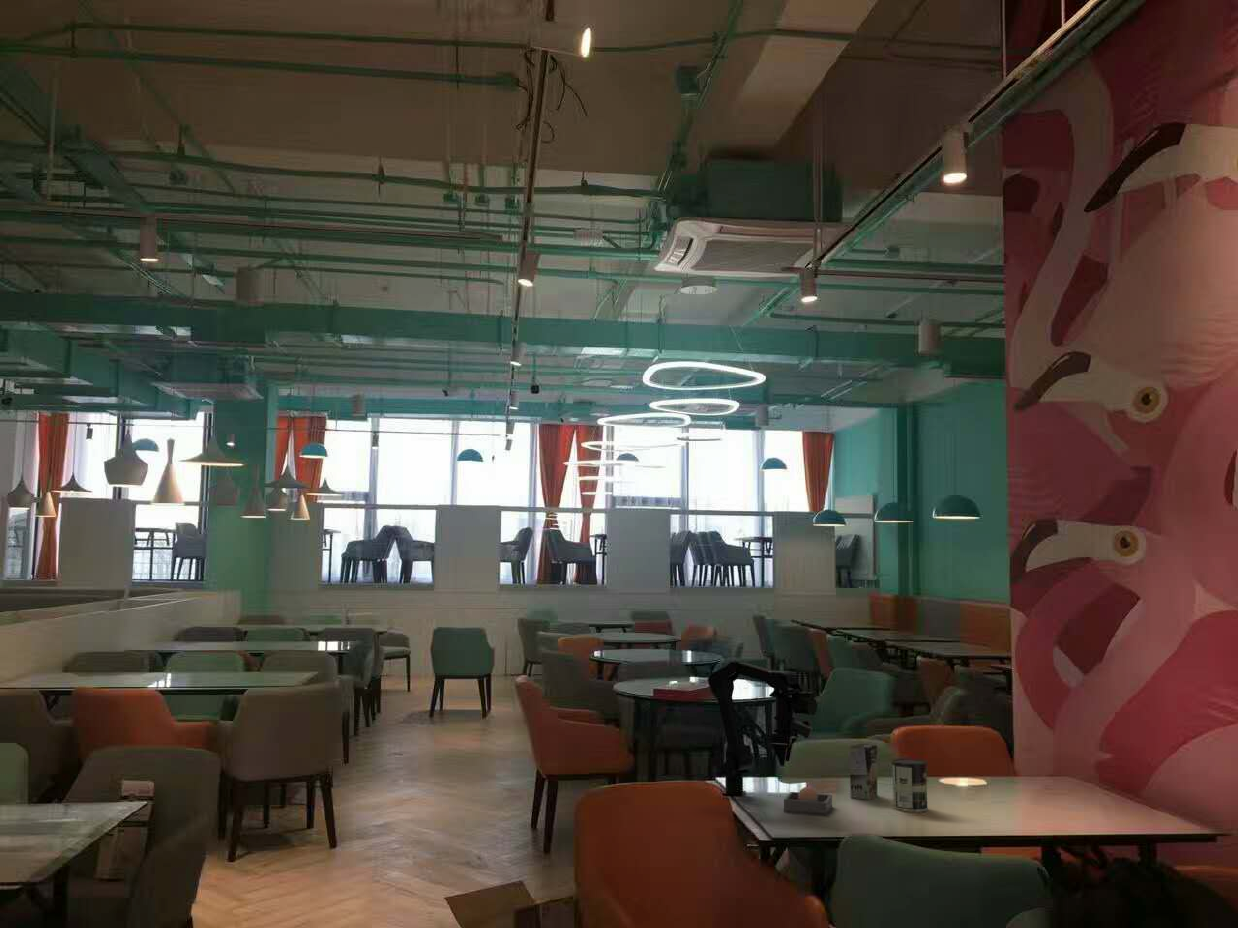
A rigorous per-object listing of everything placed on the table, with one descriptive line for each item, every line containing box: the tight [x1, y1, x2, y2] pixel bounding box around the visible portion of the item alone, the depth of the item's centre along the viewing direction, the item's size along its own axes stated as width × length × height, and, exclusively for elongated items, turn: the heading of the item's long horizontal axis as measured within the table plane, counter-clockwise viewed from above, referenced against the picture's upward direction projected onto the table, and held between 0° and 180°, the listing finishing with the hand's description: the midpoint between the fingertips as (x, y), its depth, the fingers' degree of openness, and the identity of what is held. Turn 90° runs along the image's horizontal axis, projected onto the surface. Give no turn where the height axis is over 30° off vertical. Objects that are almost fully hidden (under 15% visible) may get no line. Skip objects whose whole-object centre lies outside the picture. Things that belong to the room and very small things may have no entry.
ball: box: [798, 786, 819, 802], centre depth 305 cm, size 6×6×6 cm
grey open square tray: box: [783, 791, 833, 816], centre depth 305 cm, size 13×13×4 cm
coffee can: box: [891, 758, 928, 813], centre depth 309 cm, size 10×10×14 cm
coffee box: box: [849, 743, 878, 800], centre depth 326 cm, size 9×6×16 cm
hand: (785, 763), depth 315 cm, fingers open, 9 cm apart
